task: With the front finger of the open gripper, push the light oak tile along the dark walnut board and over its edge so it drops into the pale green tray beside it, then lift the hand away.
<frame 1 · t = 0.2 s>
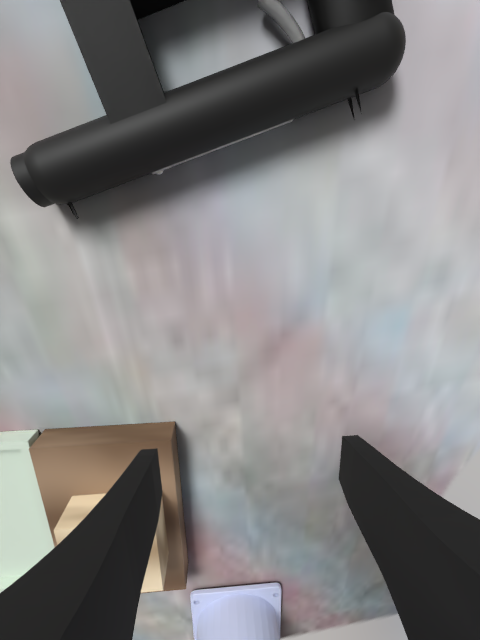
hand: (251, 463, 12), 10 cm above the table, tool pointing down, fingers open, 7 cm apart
walnut board: (123, 502, 24), on the table
oak tile: (122, 525, 22), point 2 cm above the table, touching walnut board
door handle: (174, 11, 16), on the table
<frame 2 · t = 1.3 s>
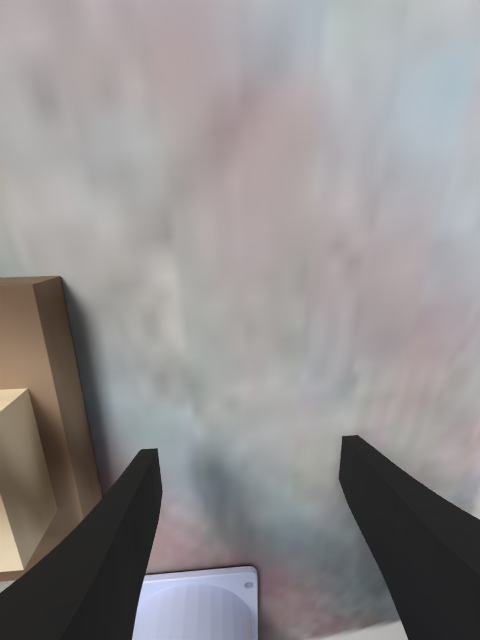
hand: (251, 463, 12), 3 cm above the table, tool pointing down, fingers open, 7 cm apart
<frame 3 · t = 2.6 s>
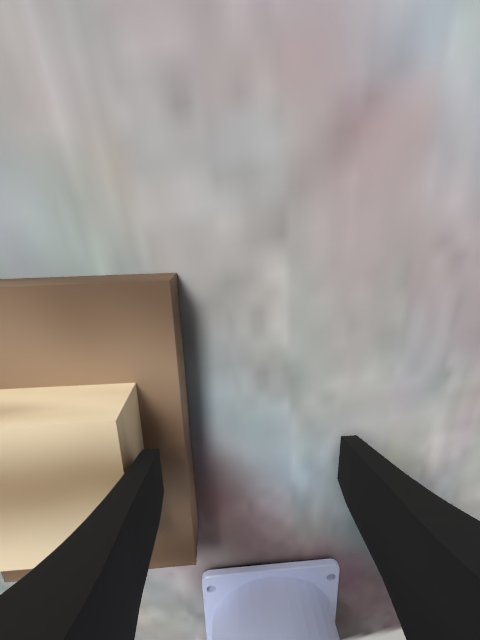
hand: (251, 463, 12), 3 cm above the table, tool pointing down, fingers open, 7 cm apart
walnut board: (94, 422, 15), on the table
oak tile: (70, 451, 13), point 2 cm above the table, touching gripper, walnut board
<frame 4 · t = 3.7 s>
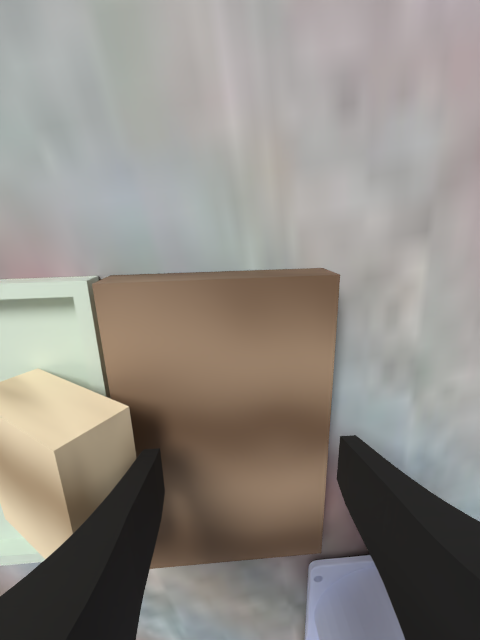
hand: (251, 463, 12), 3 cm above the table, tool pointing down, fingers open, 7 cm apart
green tray: (12, 428, 15), on the table
walnut board: (225, 414, 15), on the table
oak tile: (90, 449, 13), point 2 cm above the table, tilted 36°, touching gripper
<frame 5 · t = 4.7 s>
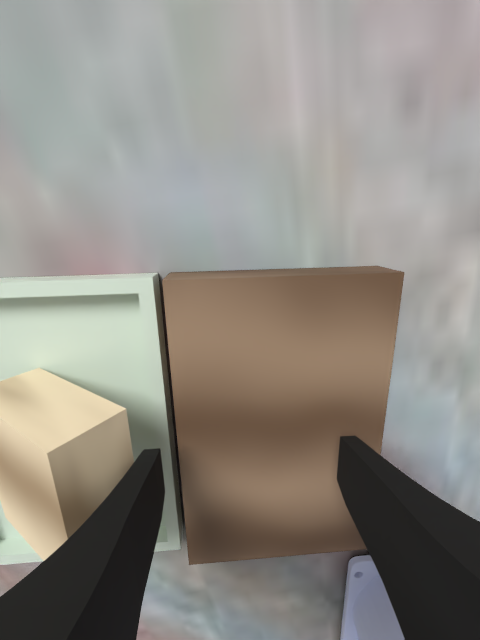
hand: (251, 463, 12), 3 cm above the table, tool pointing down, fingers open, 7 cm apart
green tray: (65, 423, 15), on the table
walnut board: (274, 411, 15), on the table
oak tile: (89, 450, 13), point 2 cm above the table, tilted 38°, touching green tray, gripper
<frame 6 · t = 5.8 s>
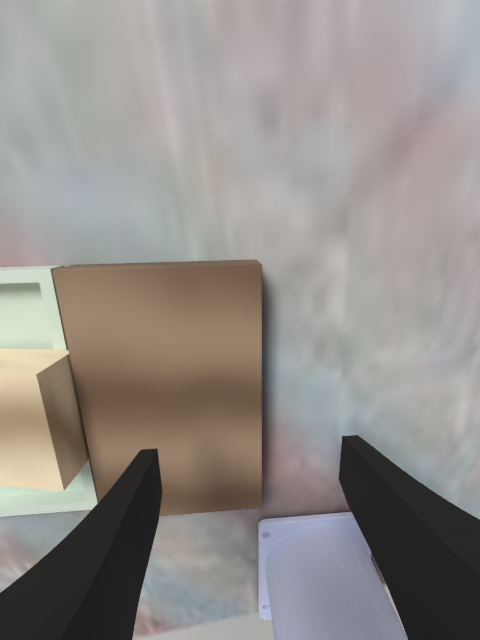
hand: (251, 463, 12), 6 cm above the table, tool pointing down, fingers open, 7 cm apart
walnut board: (177, 387, 17), on the table
oak tile: (30, 402, 16), point 1 cm above the table, tilted 11°, touching green tray
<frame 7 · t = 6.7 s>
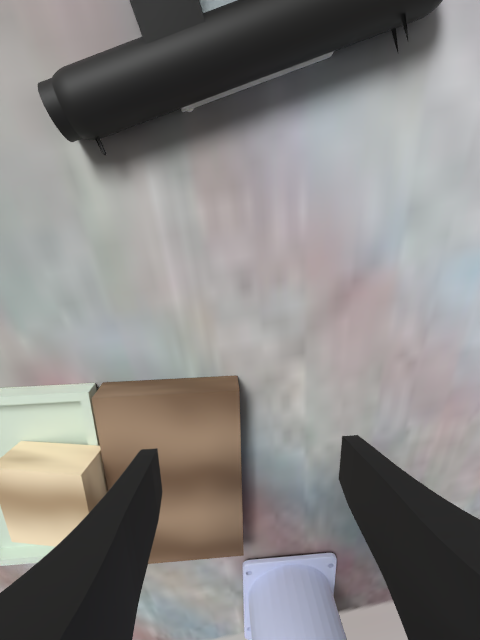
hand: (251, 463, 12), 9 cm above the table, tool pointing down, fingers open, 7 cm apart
green tray: (39, 473, 22), on the table
walnut board: (179, 463, 23), on the table
oak tile: (69, 479, 22), point 1 cm above the table, tilted 11°, touching green tray
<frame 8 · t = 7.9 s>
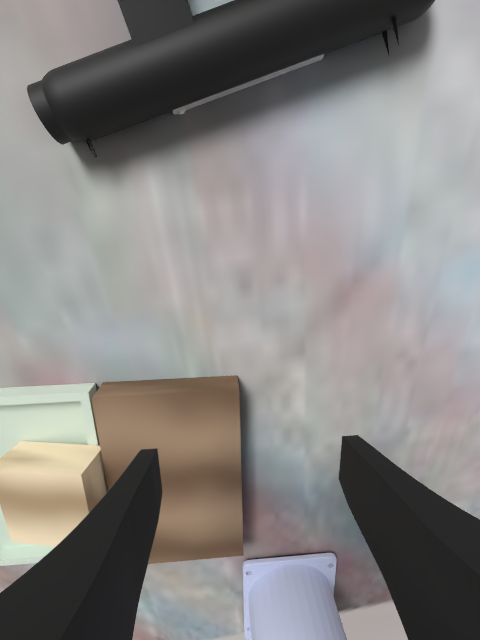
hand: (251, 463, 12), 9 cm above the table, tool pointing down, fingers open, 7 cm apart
green tray: (39, 473, 22), on the table
walnut board: (179, 463, 23), on the table
oak tile: (69, 479, 22), point 1 cm above the table, tilted 11°, touching green tray
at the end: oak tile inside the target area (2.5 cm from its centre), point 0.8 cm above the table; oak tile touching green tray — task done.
